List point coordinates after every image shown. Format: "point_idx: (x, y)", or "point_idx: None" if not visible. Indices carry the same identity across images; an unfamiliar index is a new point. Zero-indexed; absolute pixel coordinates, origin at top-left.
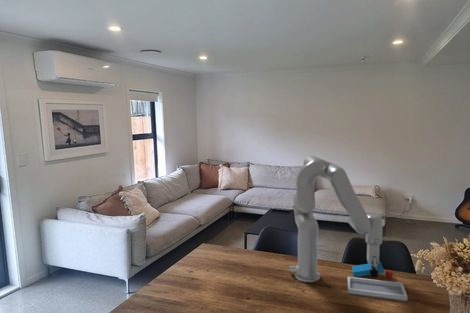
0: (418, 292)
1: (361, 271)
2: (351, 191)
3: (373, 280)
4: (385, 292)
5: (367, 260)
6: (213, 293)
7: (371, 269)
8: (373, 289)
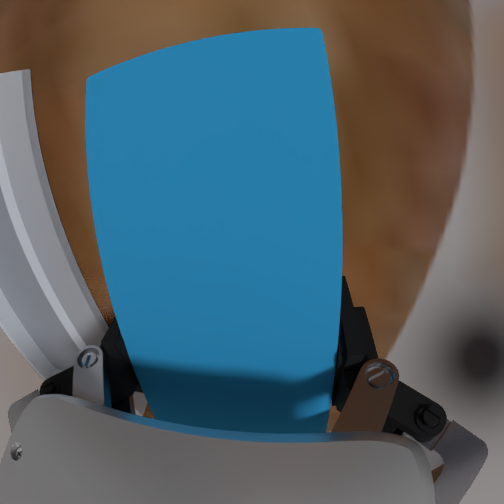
0: (150, 416)
1: (96, 205)
2: None
3: (48, 300)
4: (38, 322)
5: (113, 429)
6: None
7: (81, 353)
8: (17, 271)
